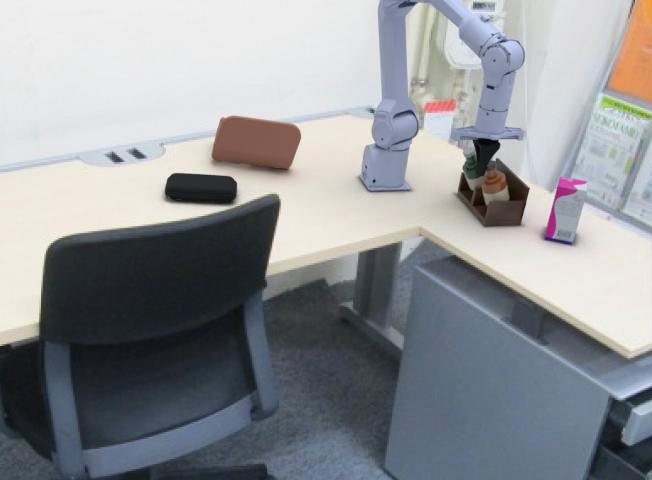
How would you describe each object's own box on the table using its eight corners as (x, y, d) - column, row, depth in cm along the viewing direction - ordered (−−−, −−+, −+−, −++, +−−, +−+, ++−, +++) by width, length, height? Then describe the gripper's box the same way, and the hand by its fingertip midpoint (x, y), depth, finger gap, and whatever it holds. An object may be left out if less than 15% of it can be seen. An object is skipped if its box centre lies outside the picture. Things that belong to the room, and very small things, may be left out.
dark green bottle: (477, 201, 190) (462, 161, 183) (468, 191, 194) (453, 152, 187) (499, 189, 189) (484, 148, 183) (489, 179, 193) (474, 139, 186)
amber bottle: (492, 217, 183) (482, 173, 177) (482, 207, 187) (473, 163, 181) (515, 207, 183) (506, 163, 177) (505, 197, 187) (496, 153, 180)
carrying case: (237, 185, 191) (168, 181, 190) (237, 171, 189) (168, 167, 188) (236, 206, 182) (164, 202, 181) (236, 192, 180) (163, 187, 179)
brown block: (281, 191, 199) (304, 129, 190) (208, 167, 196) (227, 103, 187) (283, 164, 212) (304, 104, 203) (213, 140, 209) (232, 79, 200)
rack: (485, 226, 183) (493, 188, 178) (456, 194, 195) (464, 158, 190) (520, 225, 184) (530, 188, 179) (490, 193, 197) (498, 157, 192)
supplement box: (574, 233, 183) (589, 180, 176) (572, 245, 178) (587, 191, 172) (546, 227, 184) (560, 175, 177) (543, 239, 180) (557, 185, 173)
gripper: (466, 114, 167) (453, 183, 175) (536, 113, 170) (521, 181, 178) (452, 102, 172) (441, 169, 180) (521, 101, 175) (506, 168, 183)
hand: (479, 174), depth 179 cm, fingers closed
